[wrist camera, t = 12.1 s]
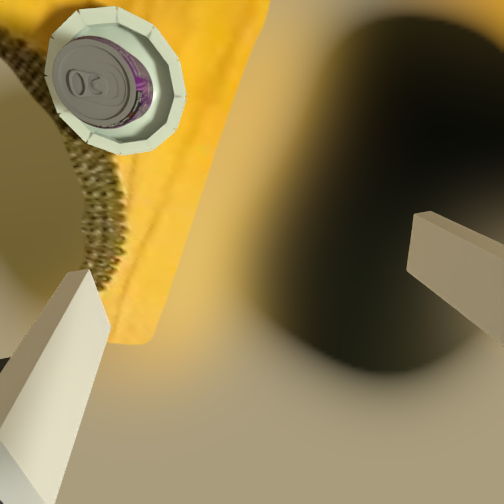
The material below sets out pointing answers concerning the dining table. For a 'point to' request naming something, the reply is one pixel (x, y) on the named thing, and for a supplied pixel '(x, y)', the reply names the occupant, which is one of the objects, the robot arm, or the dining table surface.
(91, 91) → the beverage can
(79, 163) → the dining table surface
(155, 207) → the dining table surface
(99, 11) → the tray
